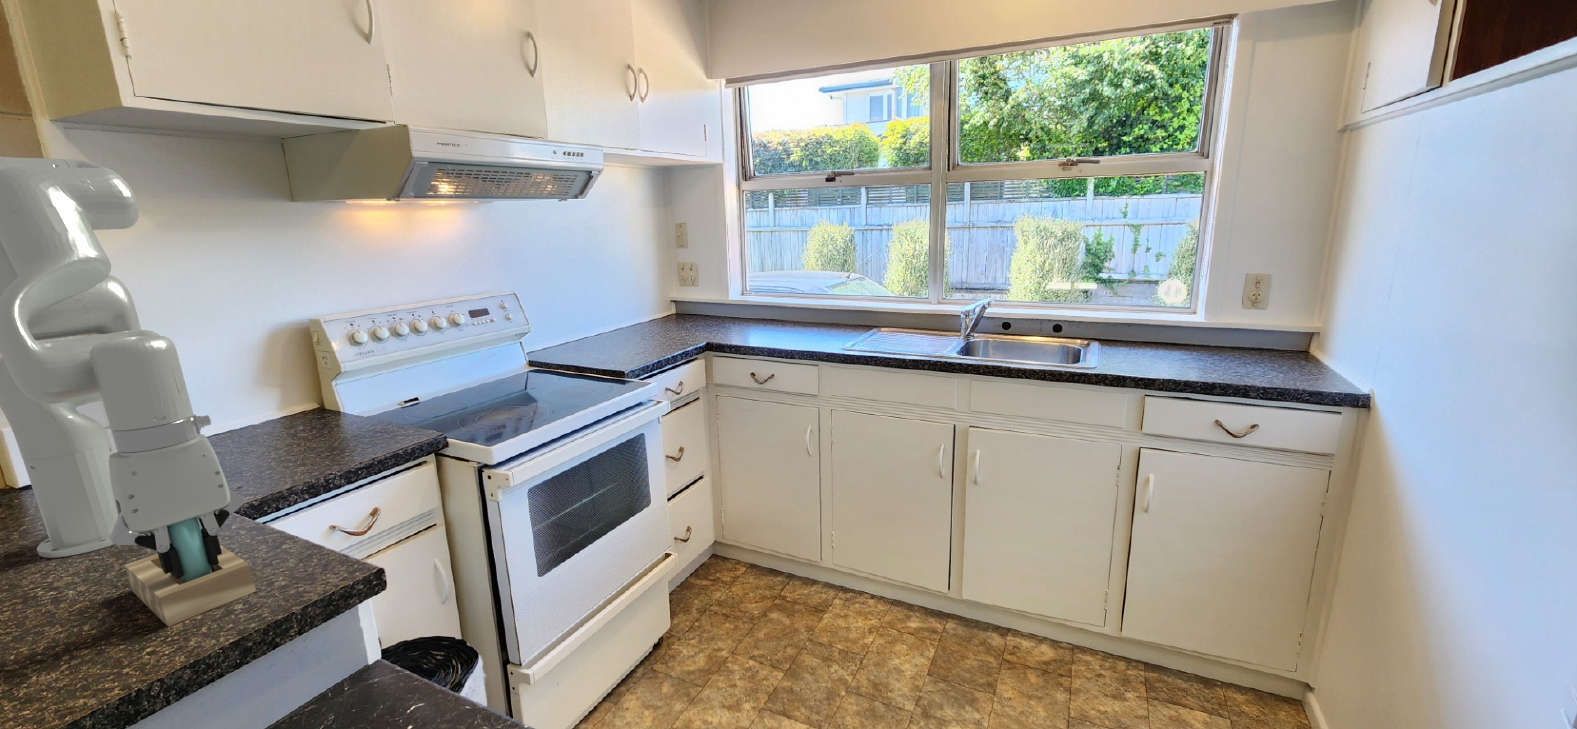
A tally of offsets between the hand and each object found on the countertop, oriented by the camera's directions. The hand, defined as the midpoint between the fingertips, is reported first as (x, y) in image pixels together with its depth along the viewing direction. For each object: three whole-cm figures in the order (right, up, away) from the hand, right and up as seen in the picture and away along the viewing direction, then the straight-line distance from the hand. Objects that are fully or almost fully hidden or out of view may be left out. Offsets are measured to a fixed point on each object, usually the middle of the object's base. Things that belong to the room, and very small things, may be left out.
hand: (194, 567), depth 86 cm
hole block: (-3, -4, +3) cm, 6 cm away
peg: (0, -3, +1) cm, 3 cm away
